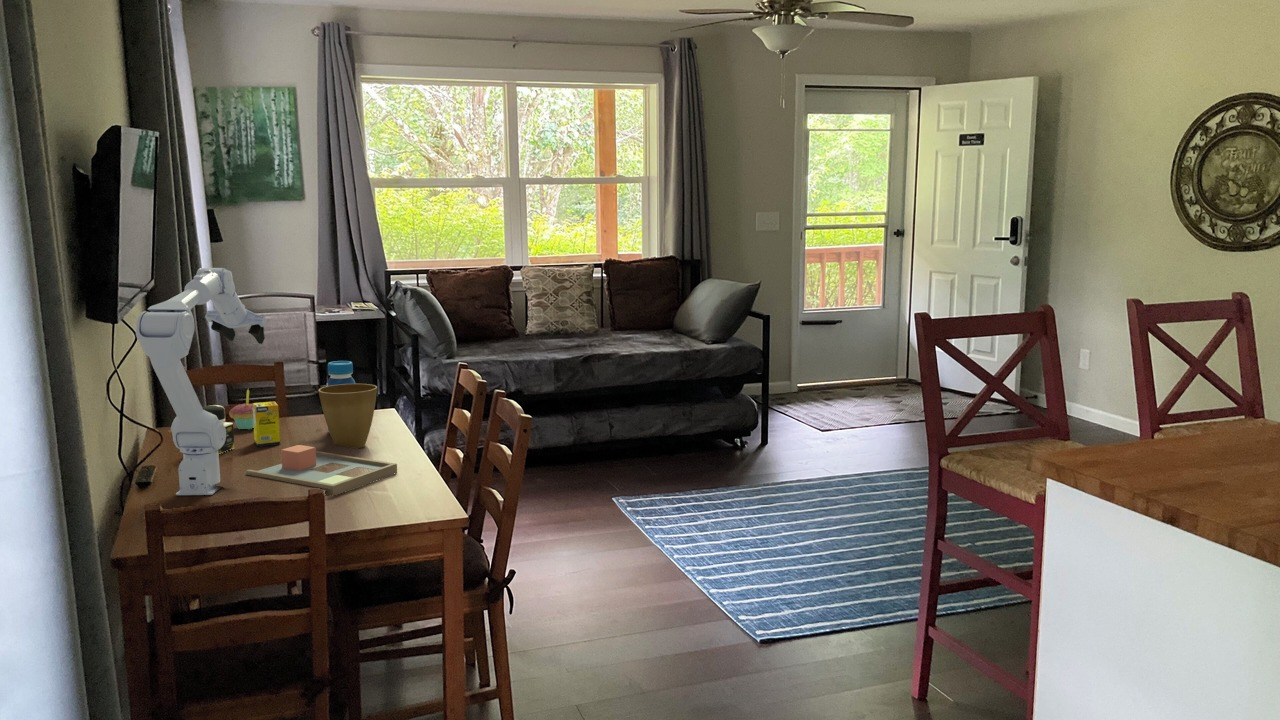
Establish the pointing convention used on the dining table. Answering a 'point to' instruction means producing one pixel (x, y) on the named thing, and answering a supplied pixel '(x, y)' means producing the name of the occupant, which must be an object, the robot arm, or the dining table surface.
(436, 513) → the dining table surface
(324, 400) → the plant pot
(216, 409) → the medicine bottle
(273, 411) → the supplement box
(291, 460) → the block
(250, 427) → the cupcake
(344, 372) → the beverage bottle
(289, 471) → the shallow rimmed tray
